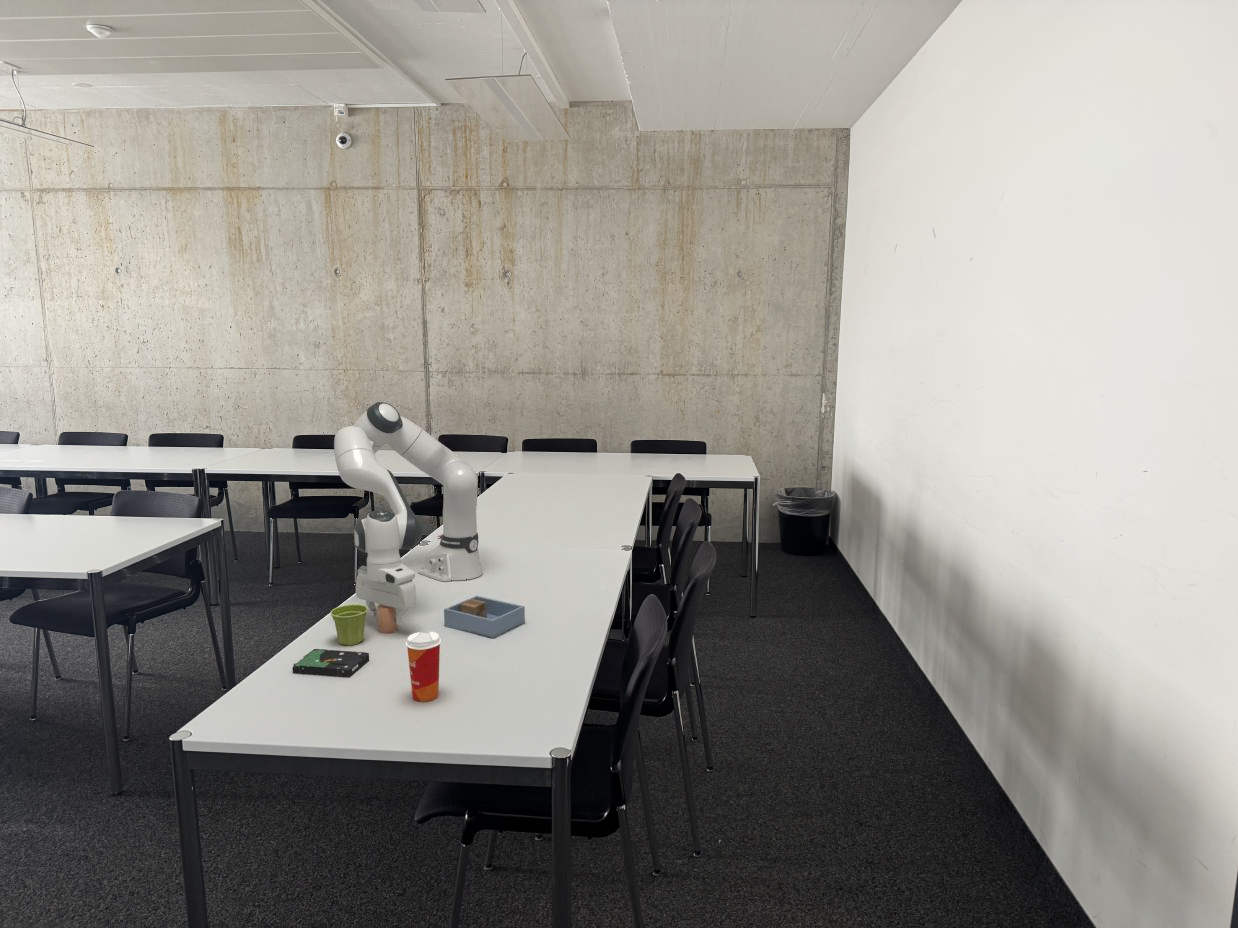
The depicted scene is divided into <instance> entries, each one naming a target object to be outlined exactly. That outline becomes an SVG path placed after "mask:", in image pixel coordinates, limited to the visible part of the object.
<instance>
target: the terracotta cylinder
mask: <svg viewBox="0 0 1238 928" xmlns="http://www.w3.org/2000/svg"><path fill="white" fill-rule="evenodd" d="M377 609H378V616H377V623H378V625H377V626H378V633H379V634H384V635H385V634H394V633H395V632H397V631H398V629H399V628H398V623H395V622H394V616H396V615H397V612H396V608H393V607H389V606H385V605H382V604H378V605H377Z"/></svg>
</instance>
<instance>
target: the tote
mask: <svg viewBox="0 0 1238 928" xmlns="http://www.w3.org/2000/svg"><path fill="white" fill-rule="evenodd" d="M472 599H474V600H479V601H483V602H486V609H487V618H484V617H480V616H476V615H471V614H467V613H463V612H461V604H462V603H465V602H467V601H470V600H472ZM525 609H526V608H525V605H520V604H516V603H512V602H507V601H504V600H503V601H502V600H498V599H495V598H494V599H493V598H488V597H484V596H481V595H480V596H479V595H476V596H473V597H470V598H468V599H465V600H463V601H461V602H458V603H456V604H453V605H451V606H449V607H446V608H444V609H443V617H444V618H443V619H444V620H443V621H444V624H443V625H444V627H446V628H449V629H454V630H458V631H461V632H465V633H470V634H473V635H477V636H481V637H485V638H488V639H491V640H494V639H496V638H498V637H501V636H502V635H504V634H506V633H508V632H510V631H512V630H514V629H517V628H519V627H520V626H523V625H524V623H526V619H525V618H526V615H525V613H526V610H525ZM522 624H523V625H522Z"/></svg>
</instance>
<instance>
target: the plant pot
mask: <svg viewBox="0 0 1238 928" xmlns="http://www.w3.org/2000/svg"><path fill="white" fill-rule="evenodd" d="M368 611H369V608H368V606H367V605H365V604H347V605H342V606H341V605H340V606H337V607H335V608H333V609H332V610H331V611H330V613H329V614H330V616H331V617H332V619H333V622H334V625H335V630H336V635H337V640H338V643H339V644H340V645H341V646H342V645H345V646H355V645H358V644H359V643H360V642H363V641H364V635H365V626H366V625H365V623H366V617H367V612H368Z"/></svg>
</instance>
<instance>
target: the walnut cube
mask: <svg viewBox="0 0 1238 928" xmlns="http://www.w3.org/2000/svg"><path fill="white" fill-rule="evenodd" d="M461 612H463V613H467V614H471V615H476V616H480V617H484V618H487V609H486V602H483V601H479V600H474V599H472V600H470V601H467V602H465V603H462V604H461Z"/></svg>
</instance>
